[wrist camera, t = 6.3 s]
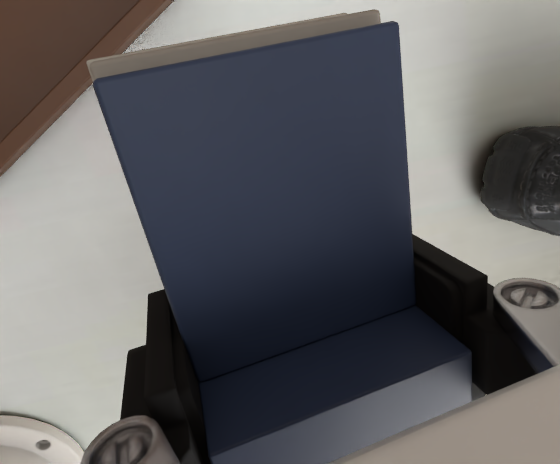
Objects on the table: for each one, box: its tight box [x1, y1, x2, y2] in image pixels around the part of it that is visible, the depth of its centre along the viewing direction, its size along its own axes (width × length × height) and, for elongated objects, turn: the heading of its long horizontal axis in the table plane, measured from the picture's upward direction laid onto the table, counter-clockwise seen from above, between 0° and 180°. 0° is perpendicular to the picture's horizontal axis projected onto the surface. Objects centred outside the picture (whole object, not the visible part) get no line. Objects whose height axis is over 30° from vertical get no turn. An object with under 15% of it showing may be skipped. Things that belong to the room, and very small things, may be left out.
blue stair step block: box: [87, 10, 472, 464], centre depth 10 cm, size 6×14×6 cm, turn 11°
